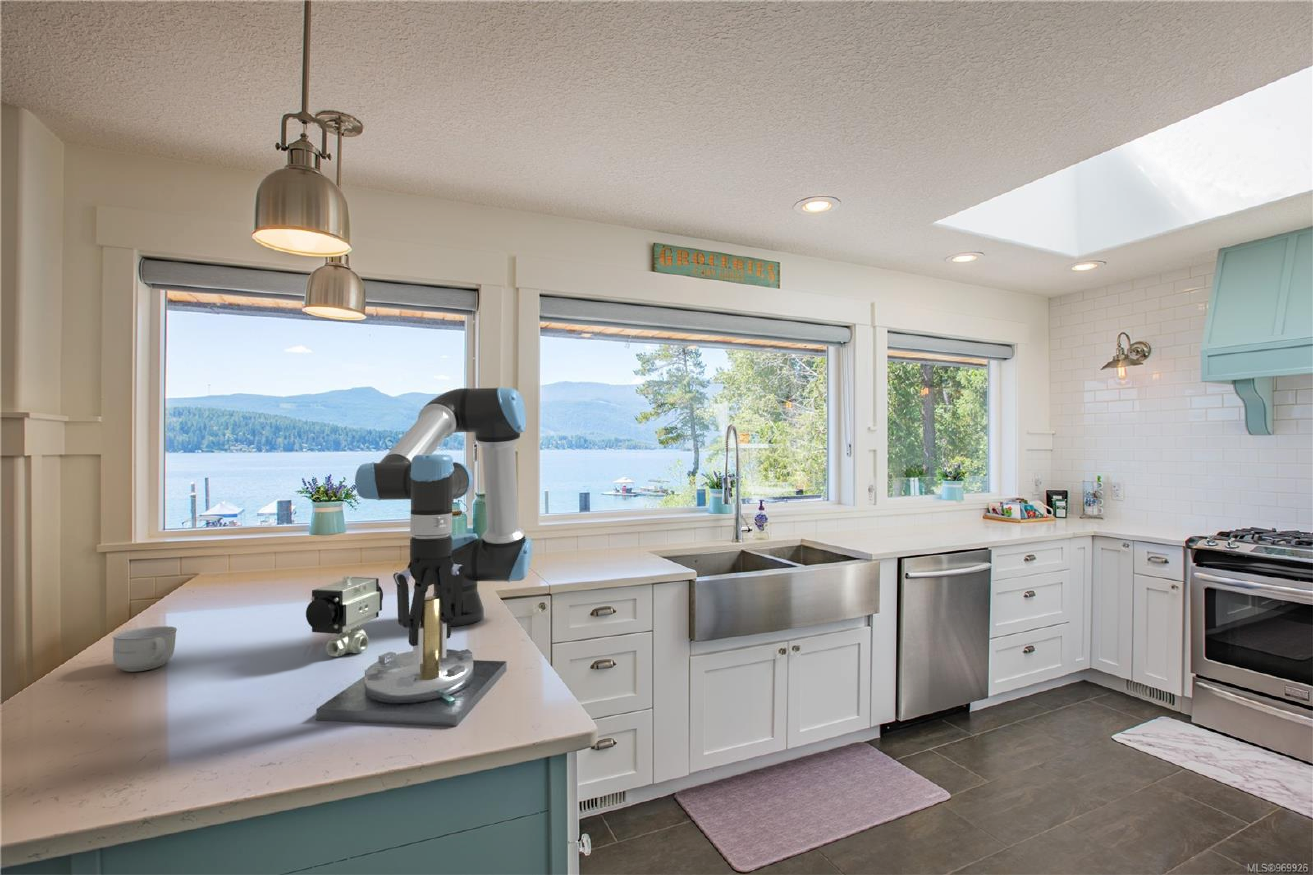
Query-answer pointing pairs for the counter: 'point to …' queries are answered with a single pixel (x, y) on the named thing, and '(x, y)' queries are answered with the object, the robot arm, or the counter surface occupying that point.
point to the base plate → (430, 712)
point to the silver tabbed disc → (420, 667)
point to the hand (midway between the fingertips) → (429, 658)
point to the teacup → (143, 648)
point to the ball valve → (345, 612)
